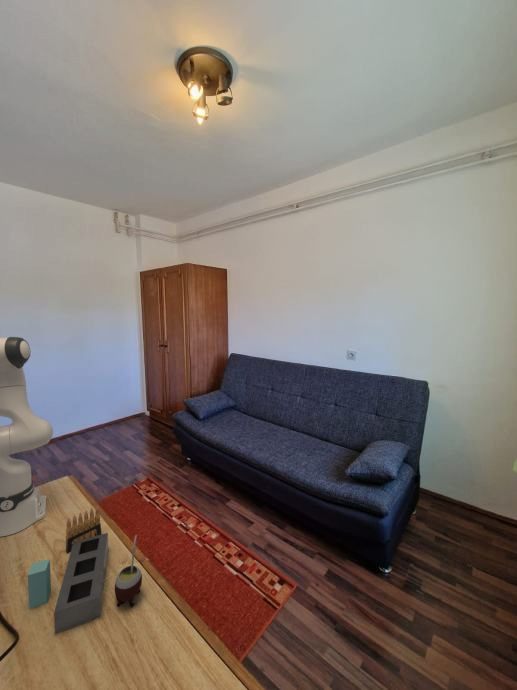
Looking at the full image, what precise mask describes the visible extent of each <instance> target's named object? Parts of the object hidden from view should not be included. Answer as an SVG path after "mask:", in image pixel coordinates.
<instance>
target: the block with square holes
mask: <svg viewBox="0 0 517 690" xmlns="http://www.w3.org/2000/svg"><path fill="white" fill-rule="evenodd" d="M72 544H73V546H72V549H71V552H69V558H68V561H67V565H66V567H65V571H64V572H65V573H64V575H63V579H62V582H61V587H60V590H59V593H58V597H57V600H56V604H55V608H54V611H53V618H54V619H53V620H54V621H53V622H54V634H55V635H56V634H59V633H62V632H64V631H67V630H69V629H73V628H76V627H78V626H80V625H83V624H87V623H88V622H92V621H95V620H97V619H99V618H101V615H102V605H103V597H104V587H105V581H106V572H107V562H108V553H109V533H108V532H106V533H101V535H97V536H93V537H89V538H85V539H82V540H78V541H74V542H73V541H72Z"/></svg>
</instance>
